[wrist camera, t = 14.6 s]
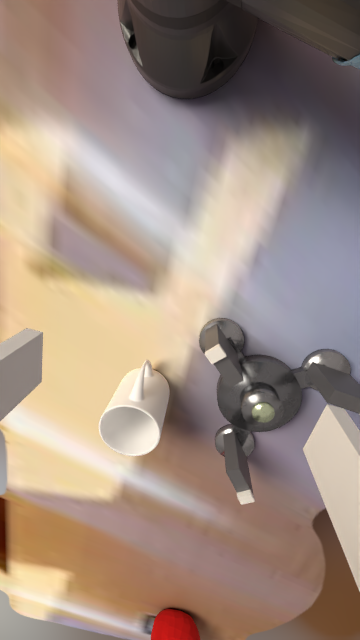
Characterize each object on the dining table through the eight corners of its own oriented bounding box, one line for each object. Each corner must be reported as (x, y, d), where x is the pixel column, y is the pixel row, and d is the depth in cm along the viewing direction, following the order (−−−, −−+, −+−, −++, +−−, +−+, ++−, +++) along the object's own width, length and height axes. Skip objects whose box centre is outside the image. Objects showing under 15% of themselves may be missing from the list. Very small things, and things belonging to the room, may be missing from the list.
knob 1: (237, 354, 41) (245, 383, 33) (226, 360, 41) (230, 390, 33) (216, 323, 39) (219, 346, 32) (205, 330, 40) (204, 354, 32)
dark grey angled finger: (222, 434, 46) (226, 476, 38) (234, 431, 45) (239, 472, 38) (235, 459, 47) (241, 504, 40) (246, 456, 47) (254, 501, 39)
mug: (178, 353, 43) (169, 391, 33) (166, 412, 47) (155, 462, 37) (127, 342, 44) (103, 377, 33) (119, 402, 48) (96, 449, 38)
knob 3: (306, 372, 41) (329, 406, 33) (312, 361, 40) (337, 392, 32) (342, 385, 41) (374, 421, 33) (349, 374, 40) (383, 408, 32)
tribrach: (206, 312, 41) (206, 326, 35) (354, 356, 41) (378, 376, 35) (166, 435, 49) (161, 461, 43) (289, 471, 49) (300, 502, 43)
